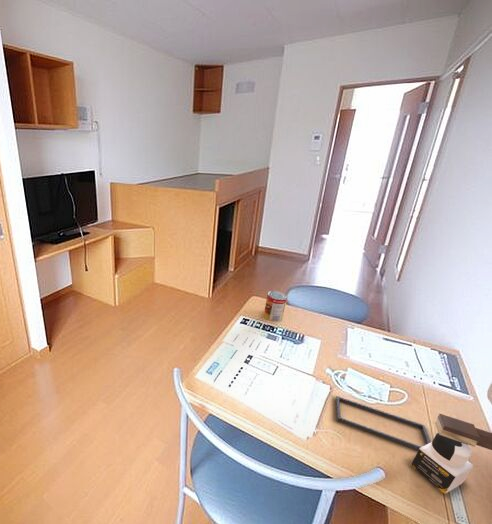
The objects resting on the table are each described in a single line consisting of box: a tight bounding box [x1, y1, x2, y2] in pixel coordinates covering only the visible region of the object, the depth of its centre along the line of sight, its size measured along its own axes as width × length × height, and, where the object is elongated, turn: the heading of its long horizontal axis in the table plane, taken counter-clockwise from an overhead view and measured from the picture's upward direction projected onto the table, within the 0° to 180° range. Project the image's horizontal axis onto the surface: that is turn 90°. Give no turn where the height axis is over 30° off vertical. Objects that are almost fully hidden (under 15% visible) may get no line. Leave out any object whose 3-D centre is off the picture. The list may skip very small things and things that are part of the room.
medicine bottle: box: [410, 432, 474, 495], centre depth 72 cm, size 7×7×12 cm
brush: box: [434, 413, 492, 451], centre depth 67 cm, size 16×4×3 cm, turn 61°
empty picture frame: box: [335, 395, 431, 452], centre depth 86 cm, size 21×9×2 cm, turn 61°
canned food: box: [263, 290, 288, 323], centre depth 136 cm, size 8×8×12 cm
